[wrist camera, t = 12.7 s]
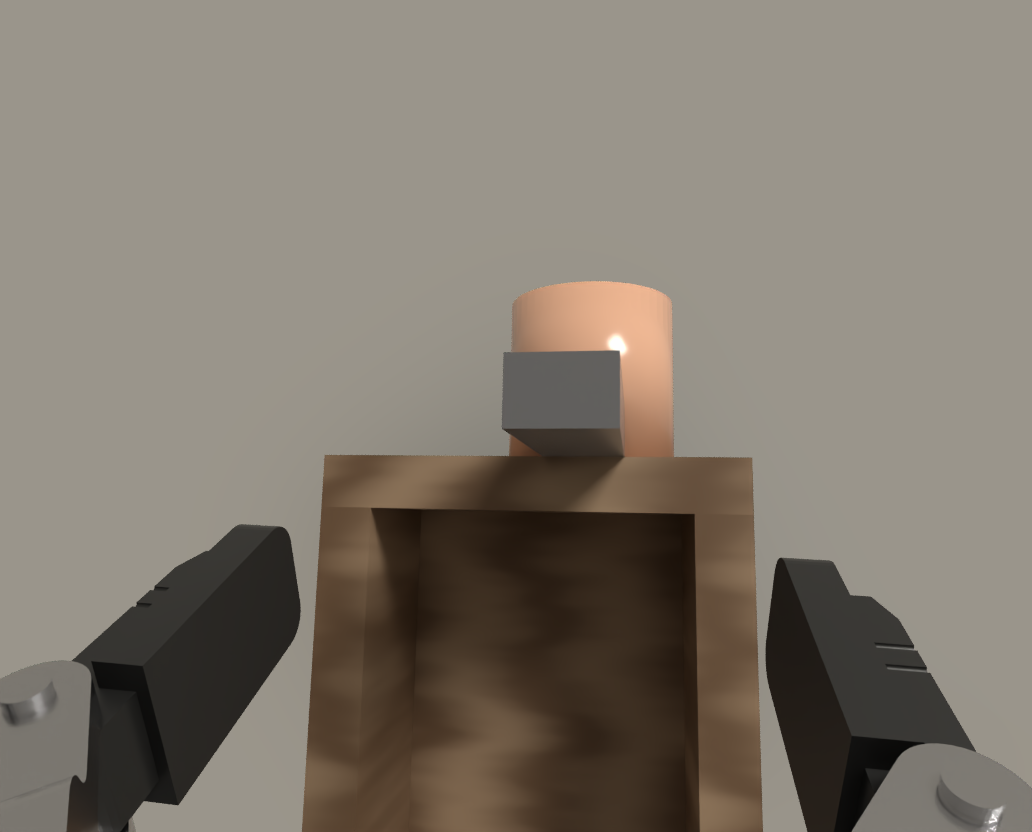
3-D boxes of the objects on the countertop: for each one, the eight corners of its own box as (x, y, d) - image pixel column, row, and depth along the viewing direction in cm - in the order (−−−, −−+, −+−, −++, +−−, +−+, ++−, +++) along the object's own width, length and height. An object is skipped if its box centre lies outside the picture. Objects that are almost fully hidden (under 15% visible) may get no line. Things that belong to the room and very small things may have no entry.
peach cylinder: (426, 428, 18) (436, 176, 19) (522, 470, 34) (525, 330, 35) (702, 428, 17) (697, 160, 18) (669, 471, 33) (668, 327, 34)
